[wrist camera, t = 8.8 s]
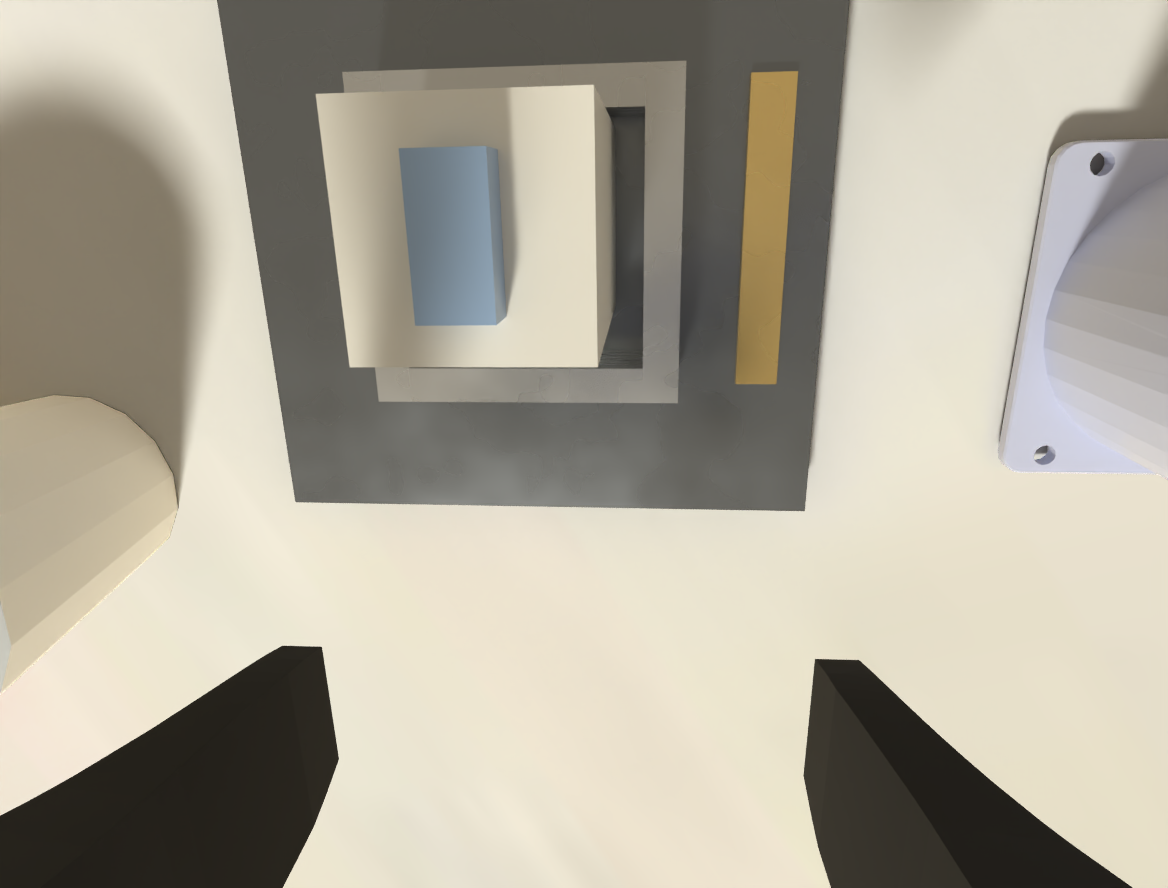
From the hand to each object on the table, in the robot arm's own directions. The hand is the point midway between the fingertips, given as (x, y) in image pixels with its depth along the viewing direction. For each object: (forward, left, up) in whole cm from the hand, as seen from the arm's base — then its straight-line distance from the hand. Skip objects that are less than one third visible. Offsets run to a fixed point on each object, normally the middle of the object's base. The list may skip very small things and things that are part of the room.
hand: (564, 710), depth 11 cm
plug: (+2, -7, -9) cm, 12 cm away
